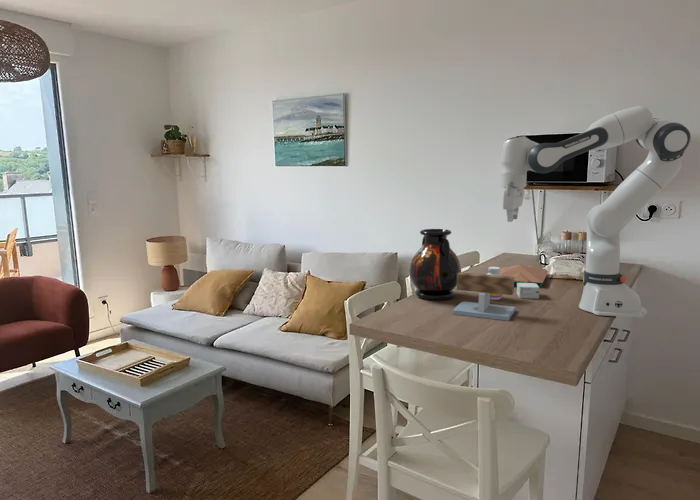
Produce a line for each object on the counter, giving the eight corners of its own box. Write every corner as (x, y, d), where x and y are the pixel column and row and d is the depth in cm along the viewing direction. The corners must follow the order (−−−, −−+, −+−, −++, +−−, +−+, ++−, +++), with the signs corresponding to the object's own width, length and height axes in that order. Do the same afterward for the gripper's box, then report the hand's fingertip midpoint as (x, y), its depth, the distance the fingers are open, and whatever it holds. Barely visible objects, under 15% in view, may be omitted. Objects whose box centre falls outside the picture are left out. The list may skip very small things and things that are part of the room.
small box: (519, 298, 201) (519, 286, 200) (516, 294, 209) (516, 282, 208) (539, 299, 199) (539, 287, 199) (535, 294, 207) (536, 282, 206)
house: (488, 286, 224) (488, 269, 222) (501, 273, 253) (501, 257, 251) (541, 291, 213) (542, 273, 212) (548, 276, 242) (549, 260, 241)
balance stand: (515, 310, 183) (515, 289, 182) (508, 320, 171) (509, 298, 170) (462, 304, 193) (462, 285, 191) (452, 314, 180) (452, 293, 179)
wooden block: (513, 292, 178) (514, 276, 177) (511, 295, 174) (512, 278, 174) (459, 287, 187) (459, 272, 186) (456, 289, 184) (456, 274, 183)
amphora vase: (400, 293, 213) (400, 229, 208) (442, 288, 221) (443, 226, 216) (425, 305, 193) (426, 234, 189) (471, 299, 201) (473, 231, 197)
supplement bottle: (502, 300, 198) (503, 269, 196) (485, 300, 199) (486, 269, 197) (501, 296, 204) (501, 266, 202) (484, 296, 205) (485, 266, 203)
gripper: (517, 182, 166) (516, 223, 168) (526, 181, 184) (525, 218, 186) (498, 183, 169) (498, 222, 171) (509, 181, 187) (508, 217, 189)
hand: (512, 220), depth 179 cm, fingers open, 8 cm apart
